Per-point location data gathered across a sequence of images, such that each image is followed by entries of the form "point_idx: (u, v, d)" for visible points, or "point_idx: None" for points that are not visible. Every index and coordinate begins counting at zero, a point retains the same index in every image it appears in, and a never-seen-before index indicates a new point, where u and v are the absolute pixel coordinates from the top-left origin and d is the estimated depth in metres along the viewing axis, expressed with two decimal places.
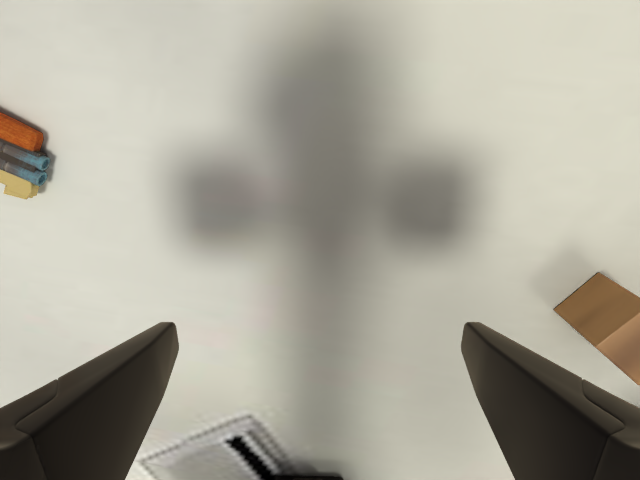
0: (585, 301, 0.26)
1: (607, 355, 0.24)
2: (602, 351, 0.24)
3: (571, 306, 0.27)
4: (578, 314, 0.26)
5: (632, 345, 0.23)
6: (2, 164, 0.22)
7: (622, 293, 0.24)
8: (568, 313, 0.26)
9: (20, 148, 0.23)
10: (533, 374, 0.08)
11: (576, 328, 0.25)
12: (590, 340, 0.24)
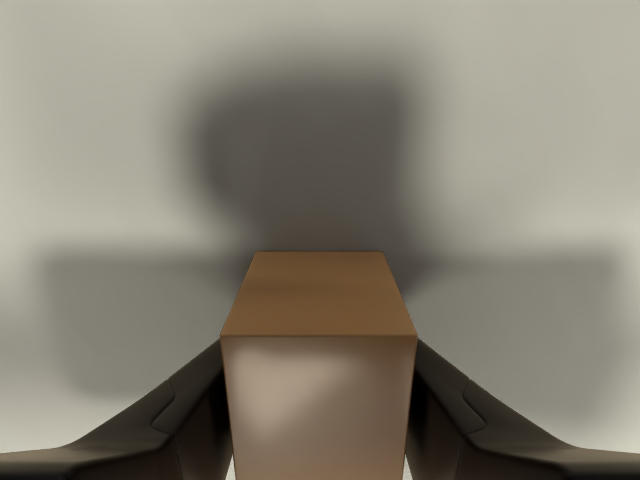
0: (313, 268, 0.10)
1: (229, 381, 0.08)
2: (226, 361, 0.08)
3: (284, 261, 0.11)
4: (276, 276, 0.10)
5: (299, 400, 0.08)
6: None
7: (385, 291, 0.09)
8: (266, 266, 0.11)
9: None
10: (422, 374, 0.08)
11: (242, 289, 0.09)
12: (230, 319, 0.08)
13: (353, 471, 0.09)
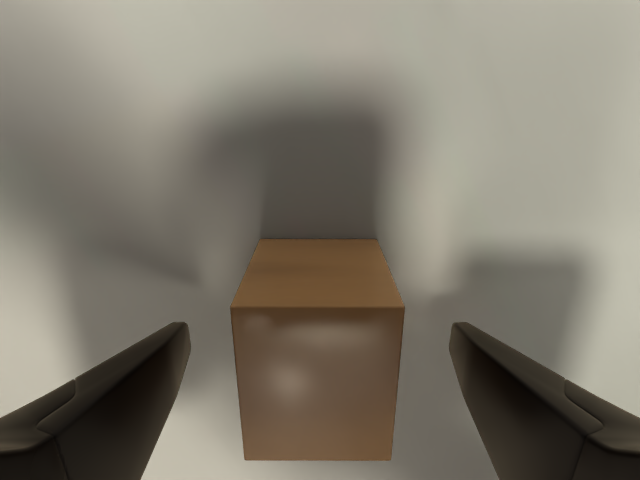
0: (313, 253, 0.11)
1: (238, 348, 0.09)
2: (235, 330, 0.09)
3: (286, 247, 0.12)
4: (279, 259, 0.11)
5: (299, 367, 0.09)
6: None
7: (377, 272, 0.10)
8: (269, 251, 0.12)
9: None
10: (516, 374, 0.08)
11: (248, 270, 0.10)
12: (239, 294, 0.09)
13: (348, 432, 0.10)
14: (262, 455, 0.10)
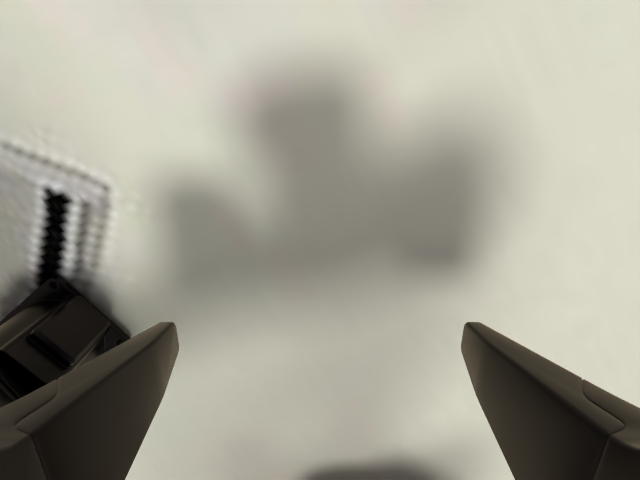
0: None
1: None
2: None
3: None
4: None
5: None
6: None
7: None
8: None
9: None
10: (533, 374, 0.08)
11: None
12: None
13: None
14: None
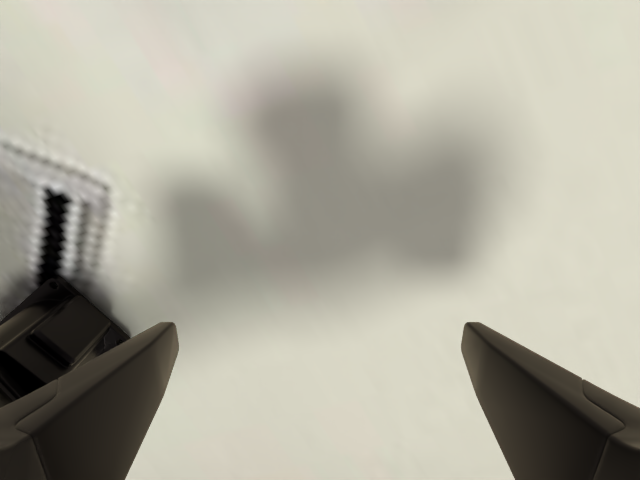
0: None
1: None
2: None
3: None
4: None
5: None
6: None
7: None
8: None
9: None
10: (533, 374, 0.08)
11: None
12: None
13: None
14: None
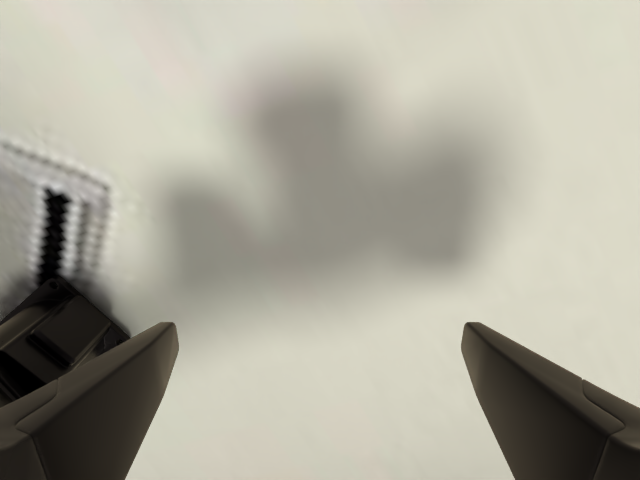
0: None
1: None
2: None
3: None
4: None
5: None
6: None
7: None
8: None
9: None
10: (533, 374, 0.08)
11: None
12: None
13: None
14: None
